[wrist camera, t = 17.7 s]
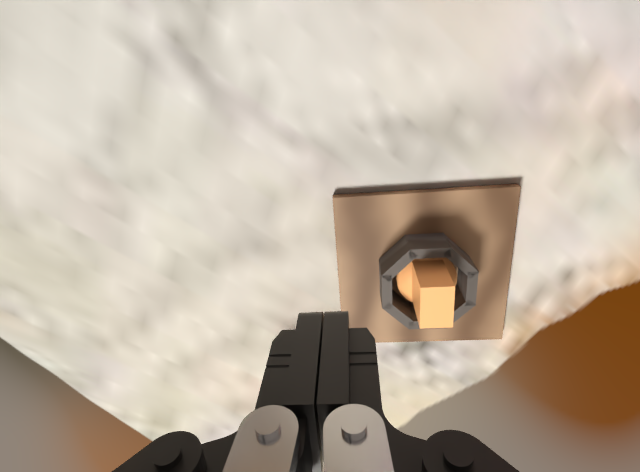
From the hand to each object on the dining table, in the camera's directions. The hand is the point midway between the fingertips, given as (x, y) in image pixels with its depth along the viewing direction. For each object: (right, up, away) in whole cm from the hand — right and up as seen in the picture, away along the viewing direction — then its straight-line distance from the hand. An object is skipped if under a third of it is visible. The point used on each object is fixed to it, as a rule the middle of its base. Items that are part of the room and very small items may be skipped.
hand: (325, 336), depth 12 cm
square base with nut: (+11, -1, +31) cm, 33 cm away
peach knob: (+11, -1, +30) cm, 32 cm away
